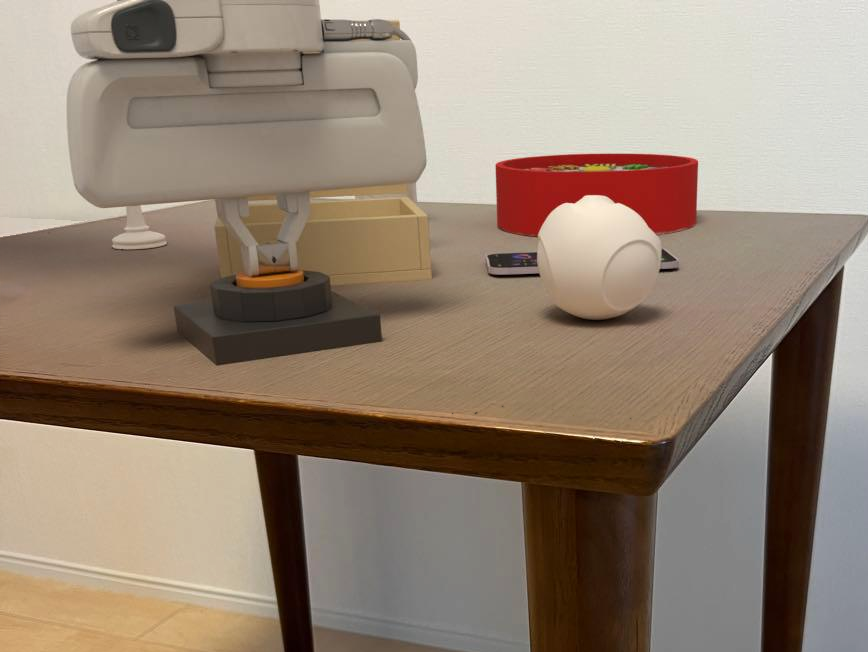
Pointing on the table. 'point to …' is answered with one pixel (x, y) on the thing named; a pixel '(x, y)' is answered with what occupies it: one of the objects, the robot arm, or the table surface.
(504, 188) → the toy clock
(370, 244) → the open wooden box
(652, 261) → the motion sensor
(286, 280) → the button
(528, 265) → the smartphone
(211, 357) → the block
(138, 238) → the chess piece
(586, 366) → the table surface
